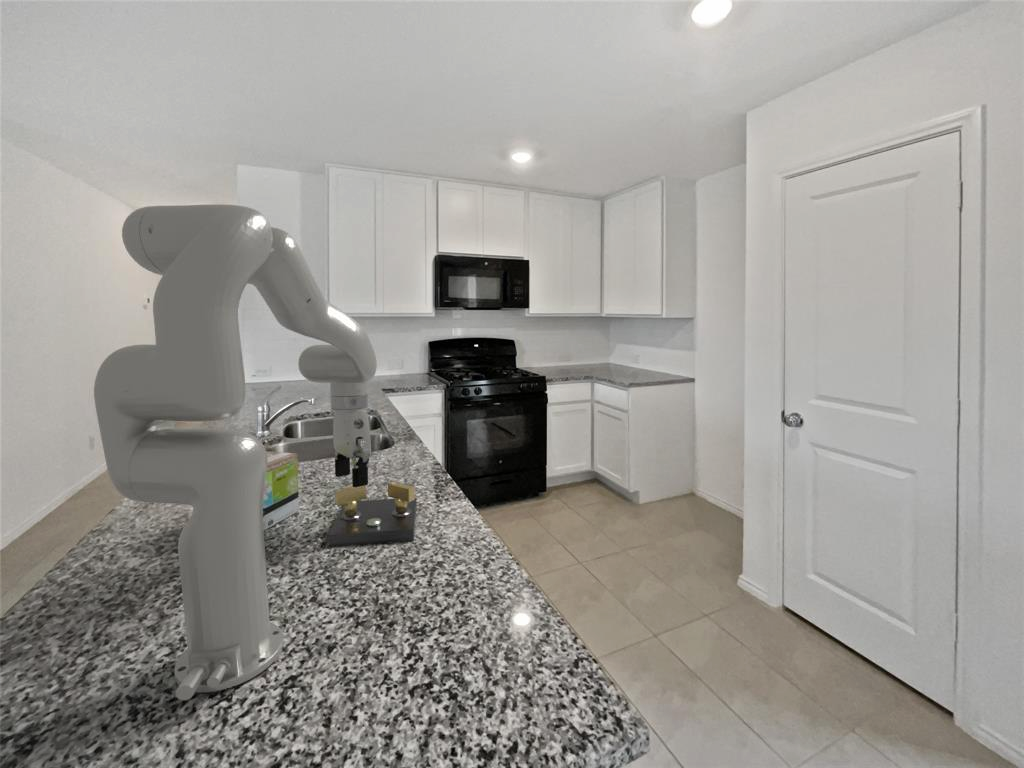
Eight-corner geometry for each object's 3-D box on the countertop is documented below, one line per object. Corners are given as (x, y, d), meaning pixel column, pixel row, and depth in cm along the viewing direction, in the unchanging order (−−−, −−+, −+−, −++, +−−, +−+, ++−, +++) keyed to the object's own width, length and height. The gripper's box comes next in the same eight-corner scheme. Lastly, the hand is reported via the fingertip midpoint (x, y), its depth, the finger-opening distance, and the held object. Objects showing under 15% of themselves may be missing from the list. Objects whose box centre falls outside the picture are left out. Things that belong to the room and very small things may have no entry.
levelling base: (413, 540, 97) (413, 526, 96) (328, 546, 94) (328, 532, 94) (416, 507, 114) (416, 495, 114) (345, 511, 112) (344, 499, 111)
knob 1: (367, 511, 104) (366, 485, 103) (338, 519, 100) (337, 492, 99) (362, 508, 106) (361, 482, 105) (334, 515, 102) (333, 488, 101)
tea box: (255, 538, 97) (250, 471, 95) (214, 534, 99) (209, 467, 97) (301, 510, 112) (297, 451, 110) (265, 507, 114) (261, 449, 112)
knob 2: (408, 515, 102) (407, 488, 101) (387, 509, 105) (386, 483, 104) (416, 511, 104) (415, 485, 103) (395, 505, 107) (394, 480, 107)
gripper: (383, 406, 95) (384, 486, 97) (350, 397, 108) (352, 469, 110) (347, 409, 90) (349, 494, 92) (317, 400, 103) (320, 474, 105)
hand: (351, 480), depth 101 cm, fingers open, 9 cm apart
